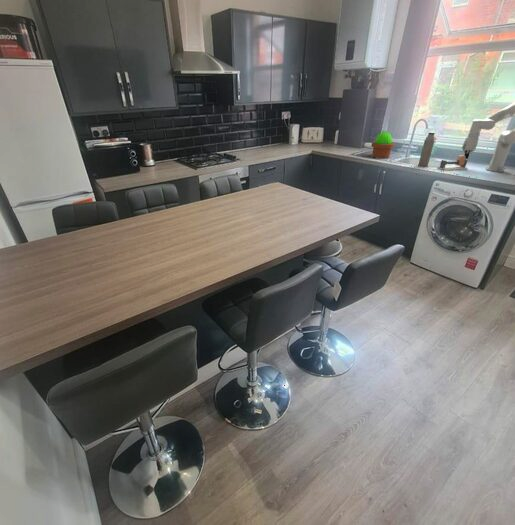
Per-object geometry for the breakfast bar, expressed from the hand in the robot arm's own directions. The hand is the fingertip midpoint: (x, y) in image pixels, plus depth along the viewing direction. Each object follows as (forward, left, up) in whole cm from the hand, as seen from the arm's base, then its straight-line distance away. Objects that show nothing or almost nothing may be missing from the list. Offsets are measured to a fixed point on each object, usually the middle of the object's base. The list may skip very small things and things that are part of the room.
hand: (465, 158), depth 255 cm
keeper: (0, +4, -6) cm, 7 cm away
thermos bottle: (+16, +27, -9) cm, 33 cm away
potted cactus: (+64, +43, -9) cm, 78 cm away
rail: (0, +10, -9) cm, 13 cm away
